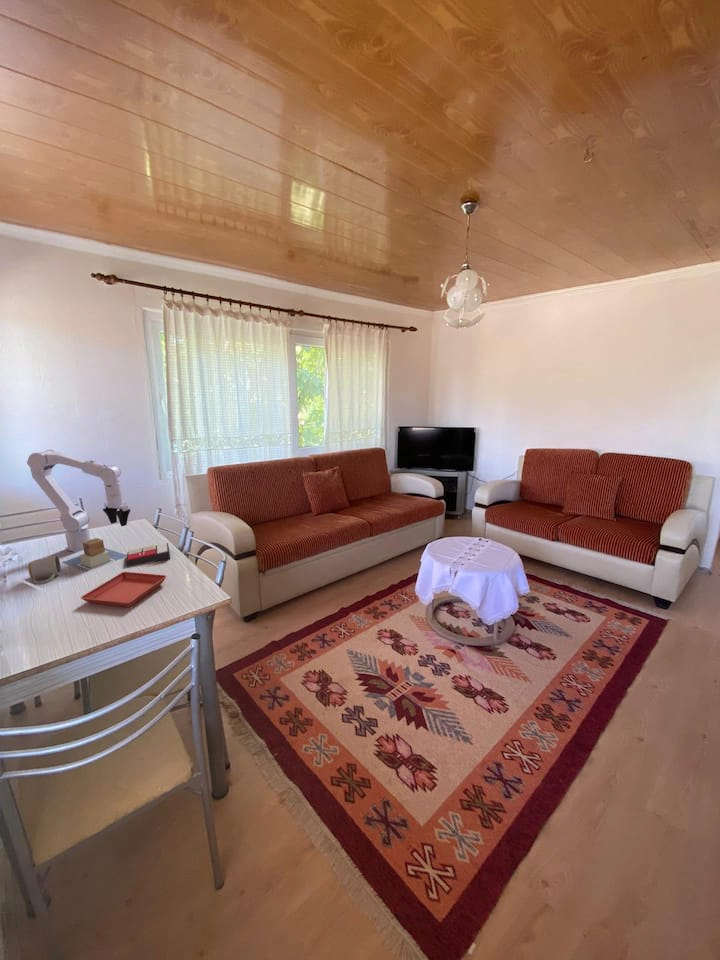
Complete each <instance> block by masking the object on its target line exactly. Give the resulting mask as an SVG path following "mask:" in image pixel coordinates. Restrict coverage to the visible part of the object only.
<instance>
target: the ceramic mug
mask: <svg viewBox="0 0 720 960" xmlns="http://www.w3.org/2000/svg"><path fill="white" fill-rule="evenodd" d="M61 572H62V566H61V561H60V559H59V555H56V554H54V555H50V556H47V557H43V558H38V559H35V560H33V561H30V562H29V563H28V574H29V577H30V579H31V580H33V583H35V584H36V585H41V584H46V583H49V582H52V581H53V580H54V578H55V577H58V576H60V574H59V573H61ZM42 579H43V580H42ZM44 579H46V580H44ZM38 580H42V581H38Z"/></svg>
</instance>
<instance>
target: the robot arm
mask: <svg viewBox="0 0 720 960" xmlns="http://www.w3.org/2000/svg"><path fill="white" fill-rule="evenodd" d="M26 464H27V465H28V467H29V468H30V474H31V478H32V479H33V480H34V481H35V482H36V484H37V485H38V486H39V487H40V489H41V490H42V491H43V492H44V494H45V496H47V497H48V499H49V500H50V501H51V502H52V503H53V505H54V506H55V507H56V509H57V510H58V511H59V513H60V517H59V520H60V521H61V523H62V527H63V528H64V530H65V531H66V532H65V540H66V545H67V547H65V550H68V551H70V552H73V553H77V552H81V551H84V549H83V544H82V542H85V541H88V540H91V534H90V529H89V522H90V520H91V516H90V515H89V513H88V512H86V511H85V510H83V509H82V508H81V507H80V506H78V505H75V504H74V502H72V500H71V499H70V498H69V497H68V495H67V494H66V493H65V491H64V490H63V489H62V488H61V486H60V485H59V483H58V482H57V481H56V480H55V479H54V477H53V476H52V475H51V474H52V471H53V469H54V468H55V466H56V465H64V466H69V467H71V468H76V469H81V471H82V472H83V473H84V474H86V475H91V476H94V477H97V478H99V479H101V480H102V481H103V486H104V489H105V490H104V491H105V497H106V502H105V501H104V502H103V507H104V508H102V511H103V513H104V514H106V516H107V519H108V521H109V522H110V524H116V523H117V521H119V524H120V526H121V527H125V526H127V525H128V518H129V515H130V512H131V508H129V505H127V502H126V501H124V499H123V492H122V487H121V486H122V485H121V482H120V481H121V480H120V477H121V475H122V472H121V469H120V468H119V467H118V466H116V465H113V464H112V465H109V466H108V464H107V463H104V464H103V463H100V462H98V461H96V460H95V459H91V460H90V459H88V460H85V461H84V460H81V459H78V458H76V457H73V456H71V455H67V454H66V453H62V452H60V451H55V450H53V449H47V450H43V451H39V452H34V453H33V452H32V453H31V454H30V455H29V456H28V458H27V461H26Z"/></svg>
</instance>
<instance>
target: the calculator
mask: <svg viewBox="0 0 720 960" xmlns="http://www.w3.org/2000/svg"><path fill="white" fill-rule="evenodd" d="M126 555H127V557H126V559H125V560H126V561H125V564H126V566H127V567H130V566H137V565H141V564H145V563H147V564H148V563H153V562H154V563H156V562H158V561H160V562H165V561H169V560H171V554H170V546H169V543H168V542H164V543H159V544H153V545H149V546H144V547H143V546H142V547H139V548H134V549H131V550H128V551H127V554H126Z"/></svg>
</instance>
